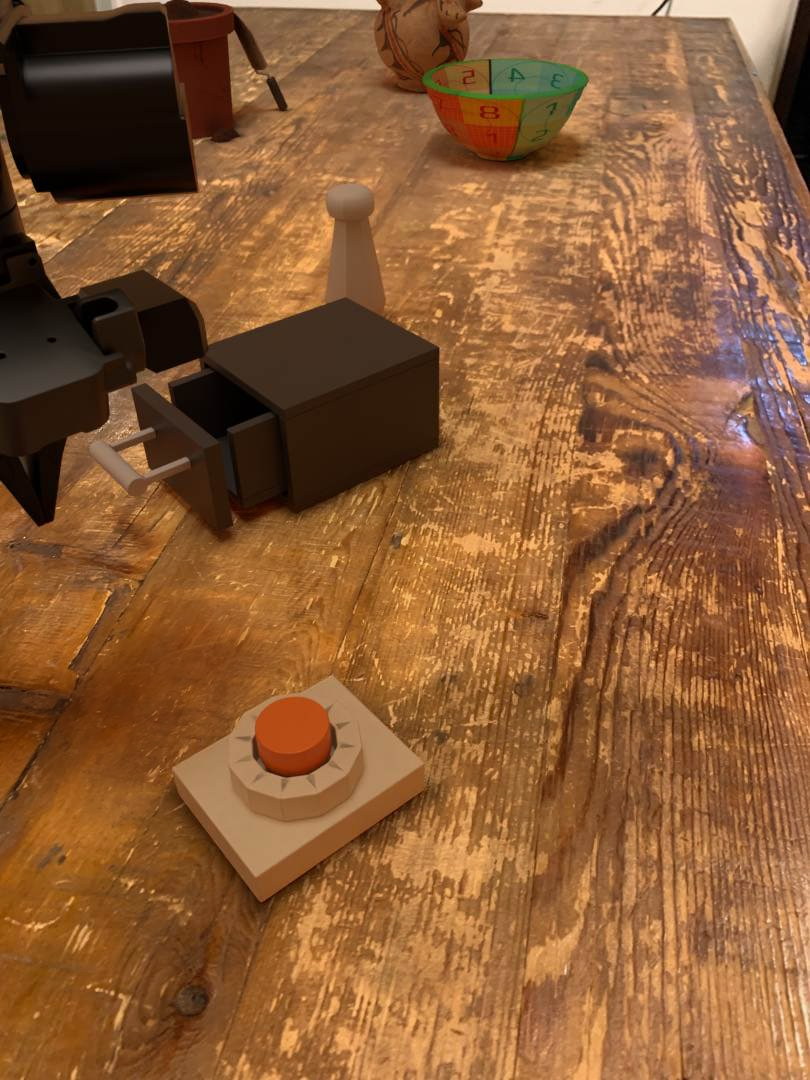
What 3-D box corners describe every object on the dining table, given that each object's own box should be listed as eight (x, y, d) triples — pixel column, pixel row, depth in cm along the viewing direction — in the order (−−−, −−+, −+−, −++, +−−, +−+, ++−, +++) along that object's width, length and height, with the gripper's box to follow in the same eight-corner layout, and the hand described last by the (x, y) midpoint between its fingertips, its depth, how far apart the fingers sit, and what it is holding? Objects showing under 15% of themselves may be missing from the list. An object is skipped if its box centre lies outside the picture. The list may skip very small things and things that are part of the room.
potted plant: (154, 113, 153) (123, -70, 138) (288, 108, 154) (271, -74, 138) (135, 145, 140) (97, -54, 124) (282, 140, 140) (263, -59, 125)
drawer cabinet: (295, 513, 68) (283, 409, 62) (213, 446, 75) (196, 348, 69) (439, 446, 74) (439, 347, 69) (351, 390, 81) (345, 296, 76)
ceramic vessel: (464, 102, 155) (468, -80, 140) (352, 97, 158) (343, -80, 143) (481, 76, 169) (486, -92, 154) (377, 73, 172) (372, -92, 157)
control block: (260, 904, 44) (250, 854, 41) (177, 794, 49) (164, 744, 46) (425, 790, 49) (424, 739, 46) (334, 700, 54) (330, 650, 51)
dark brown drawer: (156, 561, 62) (136, 476, 58) (89, 491, 69) (67, 410, 65) (364, 465, 71) (359, 385, 66) (287, 411, 77) (278, 335, 73)
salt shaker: (315, 321, 92) (303, 186, 84) (363, 305, 95) (356, 172, 87) (349, 342, 88) (341, 203, 80) (398, 325, 91) (394, 188, 83)
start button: (284, 789, 45) (281, 766, 44) (244, 743, 47) (240, 720, 46) (346, 750, 46) (344, 727, 45) (304, 708, 49) (301, 684, 48)
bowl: (591, 177, 124) (600, 95, 118) (422, 179, 125) (421, 98, 119) (571, 129, 142) (578, 56, 136) (422, 131, 142) (422, 58, 136)
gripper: (-284, 354, 28) (-101, 704, 38) (248, 208, 37) (286, 521, 47) (-339, 248, 35) (-172, 568, 45) (122, 147, 44) (178, 431, 54)
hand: (42, 520), depth 48 cm, fingers closed
